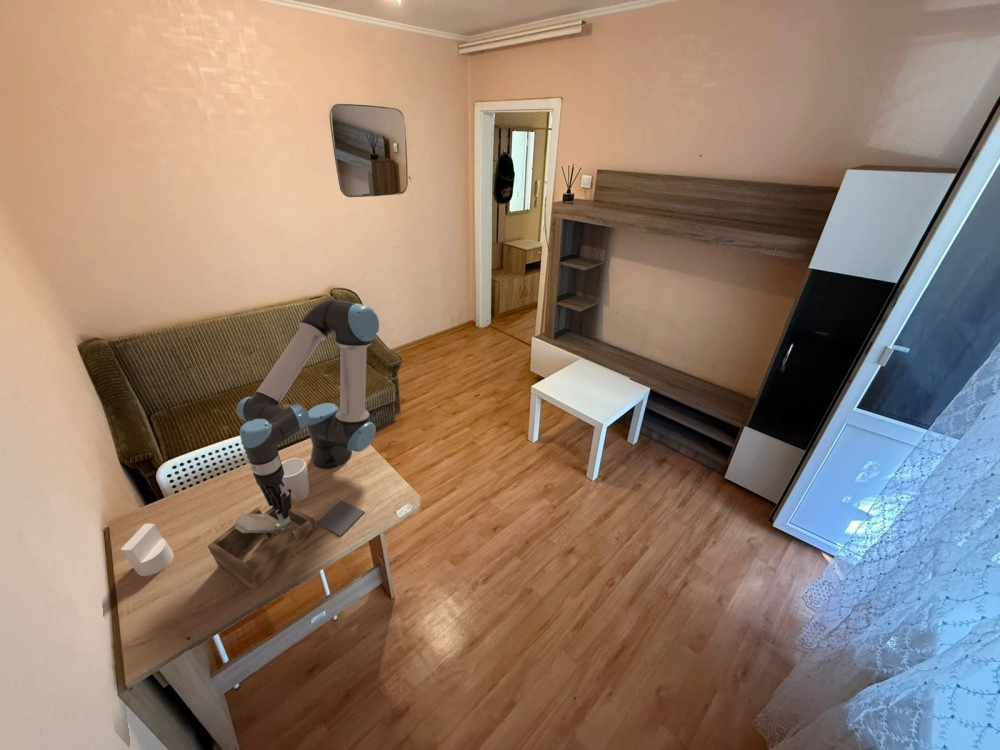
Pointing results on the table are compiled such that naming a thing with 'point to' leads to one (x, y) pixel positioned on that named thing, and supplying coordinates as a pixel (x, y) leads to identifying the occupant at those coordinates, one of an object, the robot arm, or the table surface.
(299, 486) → the foam cup
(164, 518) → the table surface
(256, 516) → the part
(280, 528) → the bar
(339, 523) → the mat
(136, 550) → the base with upright slab
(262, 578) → the wooden box
